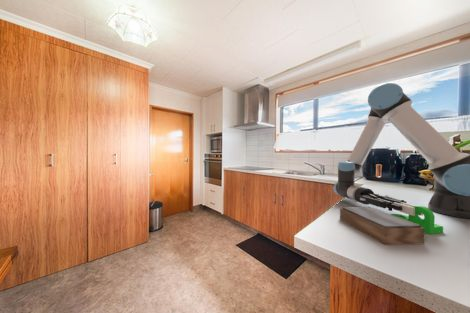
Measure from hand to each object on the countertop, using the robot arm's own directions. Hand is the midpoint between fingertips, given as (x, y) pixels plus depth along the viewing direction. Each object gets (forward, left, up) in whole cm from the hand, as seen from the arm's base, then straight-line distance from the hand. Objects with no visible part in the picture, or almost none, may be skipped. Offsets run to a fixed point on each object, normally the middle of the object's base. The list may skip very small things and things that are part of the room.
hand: (417, 211), depth 56 cm
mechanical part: (-2, -3, -6) cm, 7 cm away
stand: (+15, -1, -6) cm, 16 cm away
